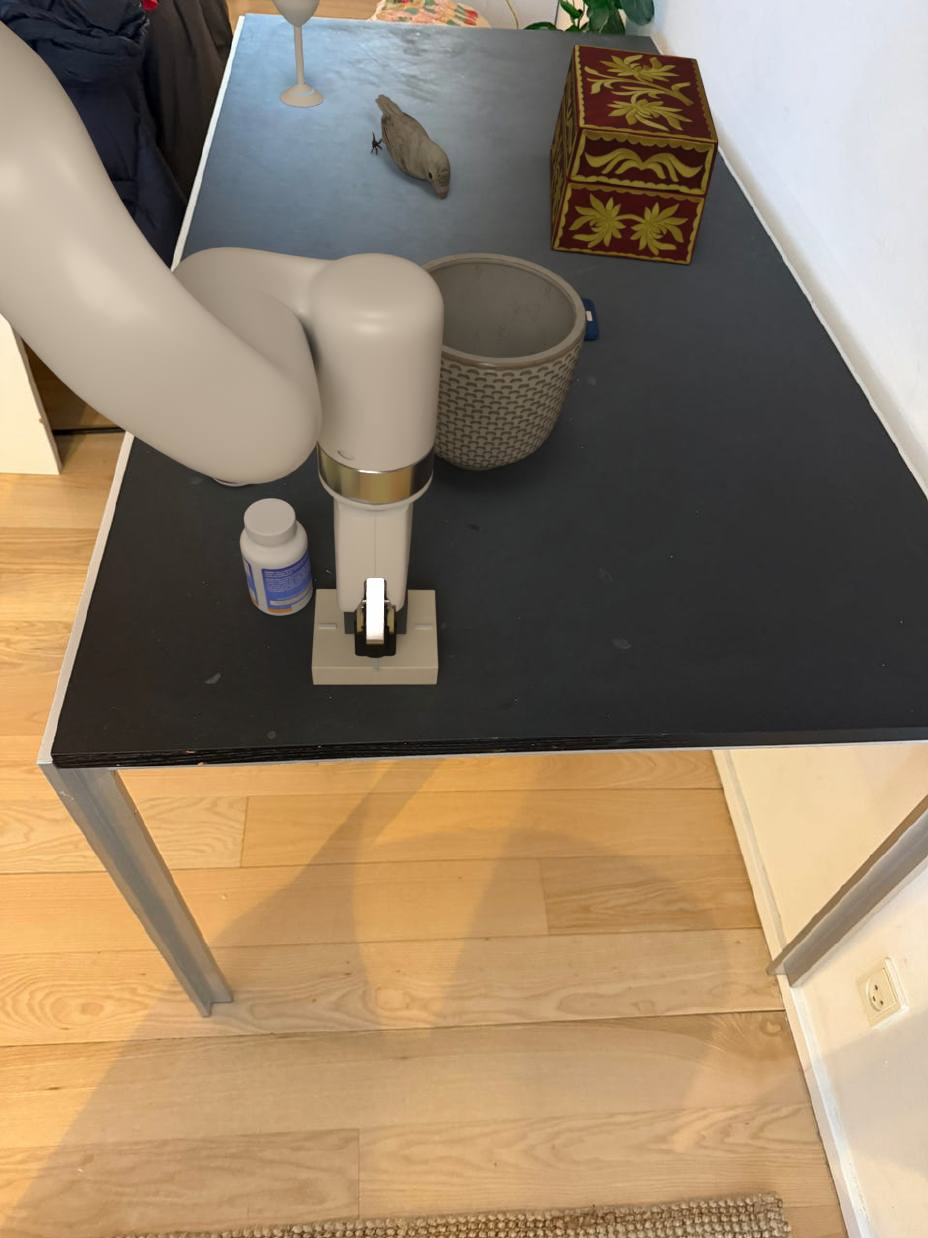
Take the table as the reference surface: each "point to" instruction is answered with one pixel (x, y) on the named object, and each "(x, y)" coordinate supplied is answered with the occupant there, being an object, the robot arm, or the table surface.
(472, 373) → the planter
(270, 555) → the pill bottle
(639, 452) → the table surface
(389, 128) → the decorative bird
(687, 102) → the decorative box
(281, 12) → the champagne flute
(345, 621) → the program dial
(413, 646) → the dial panel
